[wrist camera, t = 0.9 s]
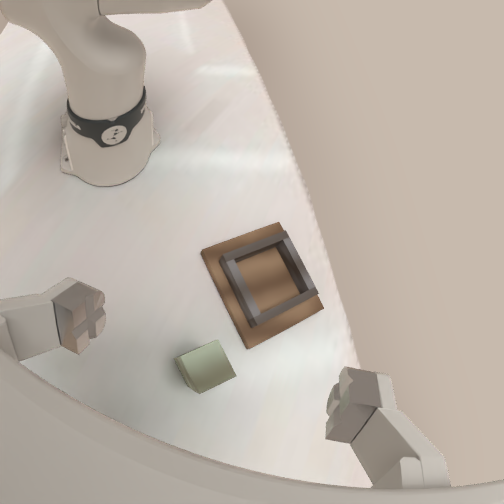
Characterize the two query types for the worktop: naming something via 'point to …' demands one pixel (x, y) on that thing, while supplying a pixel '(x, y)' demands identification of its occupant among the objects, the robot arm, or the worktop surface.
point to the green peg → (205, 367)
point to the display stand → (262, 283)
